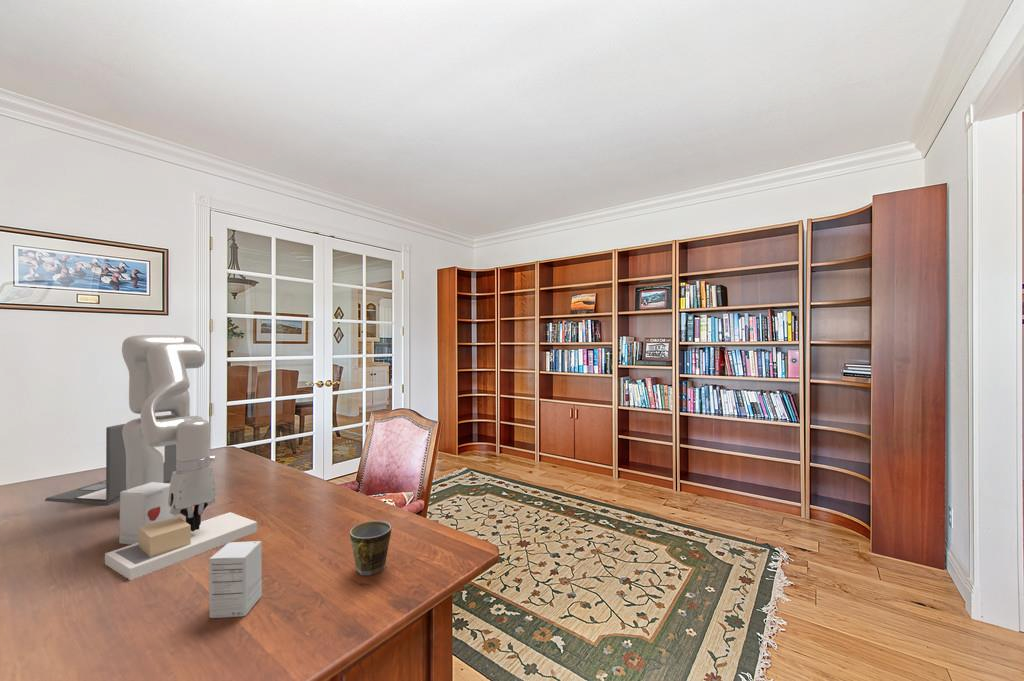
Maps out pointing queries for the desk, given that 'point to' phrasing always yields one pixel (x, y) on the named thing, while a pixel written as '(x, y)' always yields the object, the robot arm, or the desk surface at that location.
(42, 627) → the desk surface
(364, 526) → the ceramic cup
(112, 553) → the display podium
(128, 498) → the supplement box
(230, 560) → the supplement box
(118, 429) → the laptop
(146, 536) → the kraft carton
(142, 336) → the robot arm
